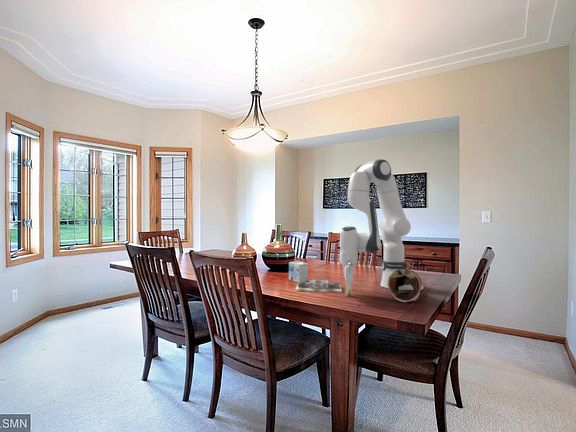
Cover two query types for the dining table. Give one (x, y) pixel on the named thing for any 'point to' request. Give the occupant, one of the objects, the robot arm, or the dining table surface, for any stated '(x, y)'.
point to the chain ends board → (318, 286)
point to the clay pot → (401, 279)
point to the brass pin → (347, 292)
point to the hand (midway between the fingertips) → (348, 287)
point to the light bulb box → (298, 271)
